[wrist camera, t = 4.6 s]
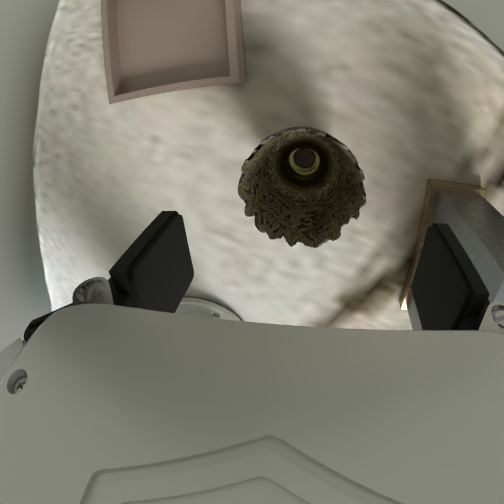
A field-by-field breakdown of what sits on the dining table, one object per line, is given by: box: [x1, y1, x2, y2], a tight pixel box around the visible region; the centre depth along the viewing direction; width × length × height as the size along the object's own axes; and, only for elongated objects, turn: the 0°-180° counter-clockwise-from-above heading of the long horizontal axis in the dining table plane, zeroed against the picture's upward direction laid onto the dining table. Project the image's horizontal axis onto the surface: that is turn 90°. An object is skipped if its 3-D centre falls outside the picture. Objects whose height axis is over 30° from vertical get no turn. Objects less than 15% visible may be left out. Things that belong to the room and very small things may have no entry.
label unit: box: [399, 179, 504, 330], centre depth 20 cm, size 6×14×13 cm, turn 4°
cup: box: [238, 127, 366, 248], centre depth 20 cm, size 8×7×8 cm
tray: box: [101, 0, 246, 104], centre depth 18 cm, size 11×11×2 cm
